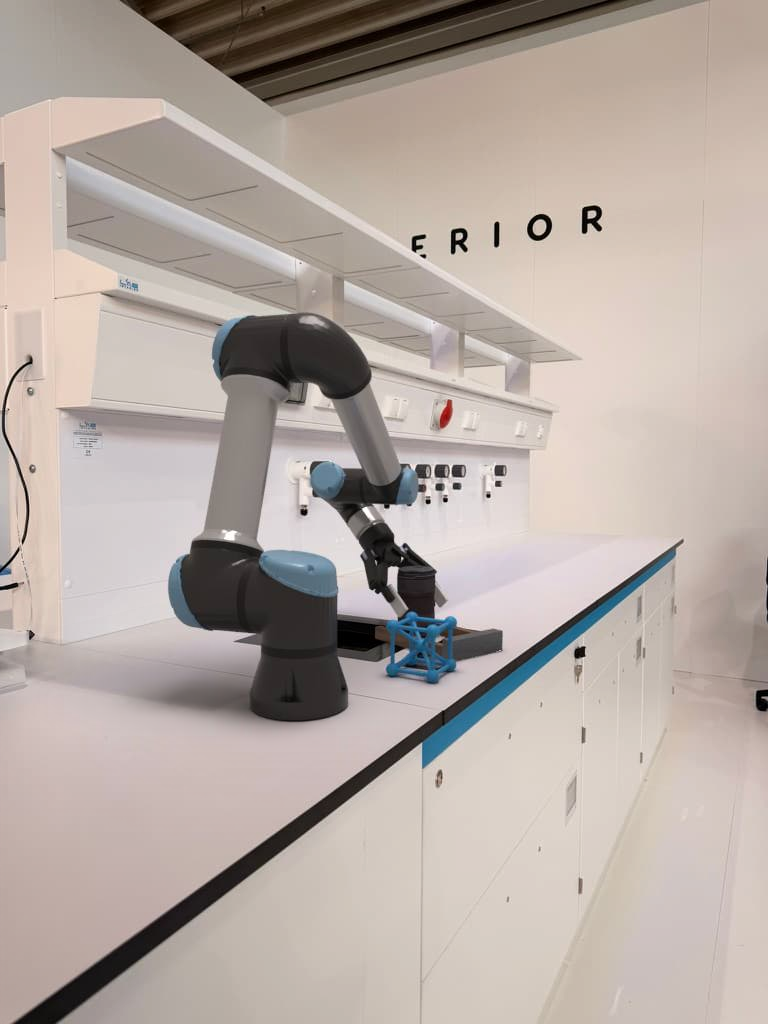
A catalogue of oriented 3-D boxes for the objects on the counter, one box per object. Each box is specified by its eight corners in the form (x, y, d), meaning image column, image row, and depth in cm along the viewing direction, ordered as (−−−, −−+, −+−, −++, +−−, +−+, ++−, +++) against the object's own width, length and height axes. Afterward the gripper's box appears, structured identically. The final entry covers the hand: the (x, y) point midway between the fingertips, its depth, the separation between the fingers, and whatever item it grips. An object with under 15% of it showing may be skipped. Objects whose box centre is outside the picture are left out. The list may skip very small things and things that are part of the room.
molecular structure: (408, 663, 137) (408, 610, 136) (458, 670, 133) (459, 615, 132) (383, 676, 128) (383, 620, 128) (435, 685, 124) (436, 626, 123)
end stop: (451, 662, 137) (451, 641, 137) (442, 659, 139) (442, 638, 139) (502, 650, 146) (502, 630, 146) (493, 648, 148) (493, 628, 148)
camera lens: (399, 632, 161) (399, 564, 160) (436, 634, 159) (437, 565, 158) (394, 641, 153) (394, 570, 152) (432, 643, 151) (433, 571, 150)
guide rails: (442, 659, 139) (442, 646, 139) (375, 638, 156) (375, 626, 155) (493, 648, 148) (493, 635, 148) (424, 629, 164) (424, 618, 164)
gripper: (399, 538, 174) (449, 610, 165) (322, 547, 155) (374, 628, 147) (416, 517, 170) (469, 589, 161) (340, 524, 152) (395, 606, 143)
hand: (424, 608), depth 154 cm, fingers open, 13 cm apart
